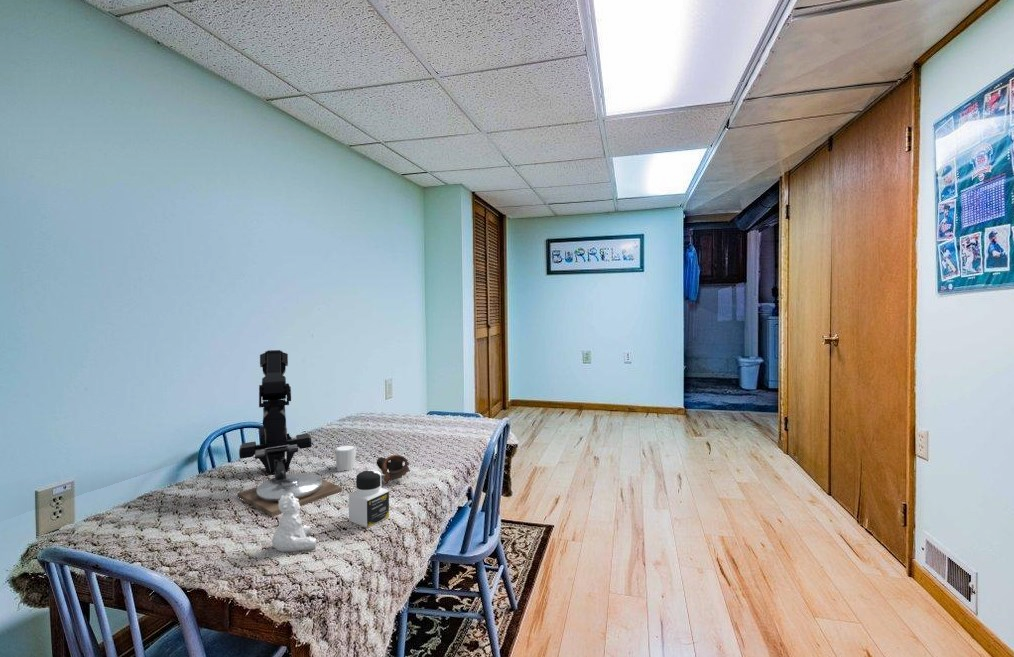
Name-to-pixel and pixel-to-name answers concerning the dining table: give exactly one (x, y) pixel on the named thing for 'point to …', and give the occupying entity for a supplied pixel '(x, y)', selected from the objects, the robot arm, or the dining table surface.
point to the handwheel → (288, 484)
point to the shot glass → (345, 457)
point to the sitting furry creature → (292, 528)
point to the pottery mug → (393, 467)
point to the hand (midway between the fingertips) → (278, 473)
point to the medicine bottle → (368, 500)
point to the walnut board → (272, 507)
